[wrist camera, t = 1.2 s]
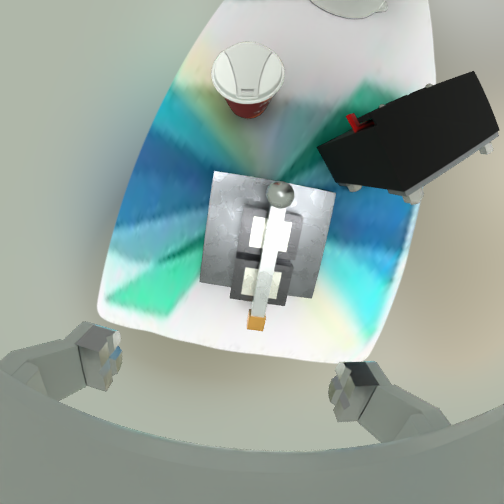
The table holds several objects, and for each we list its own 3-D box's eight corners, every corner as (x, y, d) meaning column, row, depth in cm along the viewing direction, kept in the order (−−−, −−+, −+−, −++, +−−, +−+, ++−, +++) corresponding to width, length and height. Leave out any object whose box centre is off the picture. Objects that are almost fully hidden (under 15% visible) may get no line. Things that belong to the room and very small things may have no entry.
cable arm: (268, 178, 33) (269, 179, 31) (293, 183, 33) (296, 184, 31) (243, 320, 38) (243, 328, 36) (265, 323, 38) (266, 331, 36)
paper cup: (274, 126, 37) (286, 102, 24) (221, 125, 37) (208, 101, 24) (274, 79, 35) (285, 38, 22) (223, 78, 35) (211, 38, 22)
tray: (215, 171, 39) (209, 170, 33) (333, 192, 40) (347, 195, 34) (201, 278, 44) (193, 295, 37) (309, 294, 45) (318, 312, 38)
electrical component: (342, 195, 40) (412, 214, 21) (310, 136, 38) (361, 107, 19) (420, 150, 38) (505, 147, 19) (394, 97, 35) (471, 65, 16)
